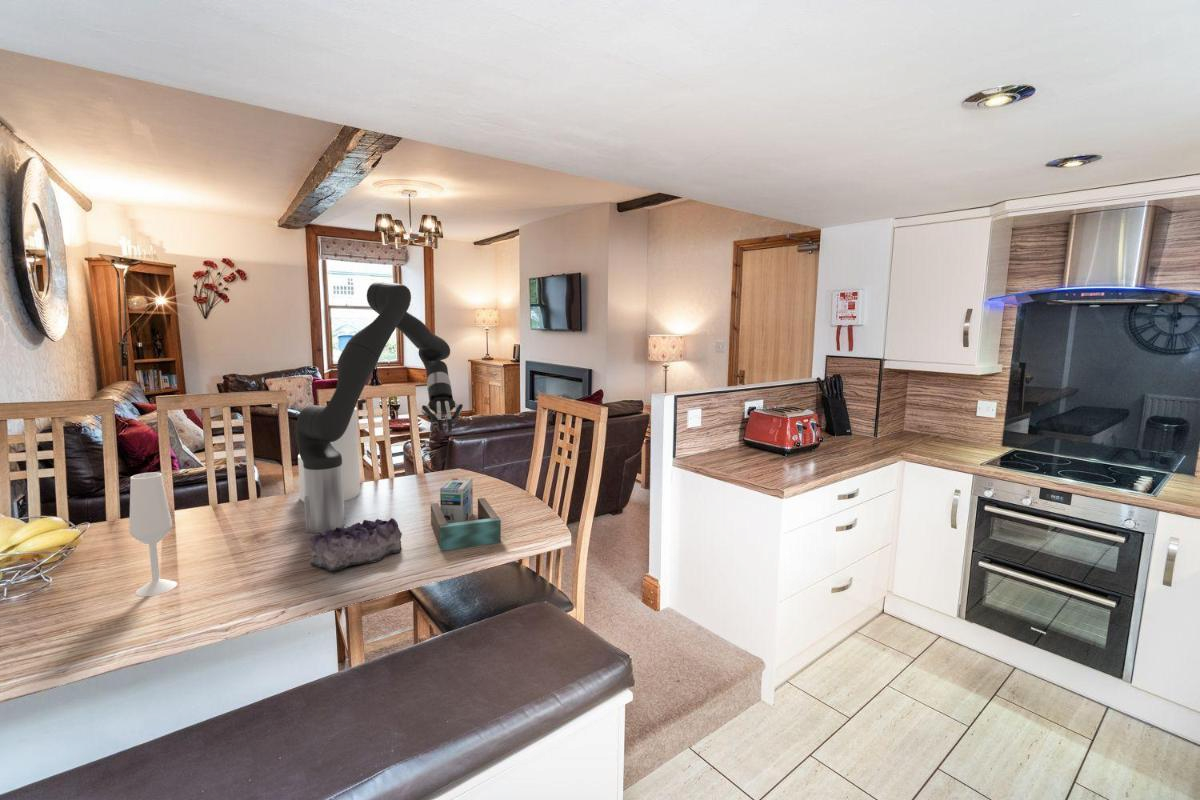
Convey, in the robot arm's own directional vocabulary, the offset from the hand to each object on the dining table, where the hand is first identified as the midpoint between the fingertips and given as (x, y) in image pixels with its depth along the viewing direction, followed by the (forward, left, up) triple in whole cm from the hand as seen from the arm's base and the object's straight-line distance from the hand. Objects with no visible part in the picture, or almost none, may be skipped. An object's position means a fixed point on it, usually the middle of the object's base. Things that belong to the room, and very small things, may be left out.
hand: (445, 431), depth 169 cm
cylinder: (-34, +16, -22) cm, 44 cm away
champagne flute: (-64, -39, -22) cm, 78 cm away
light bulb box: (0, -20, -22) cm, 30 cm away
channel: (0, -31, -22) cm, 38 cm away
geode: (-26, -38, -22) cm, 51 cm away
